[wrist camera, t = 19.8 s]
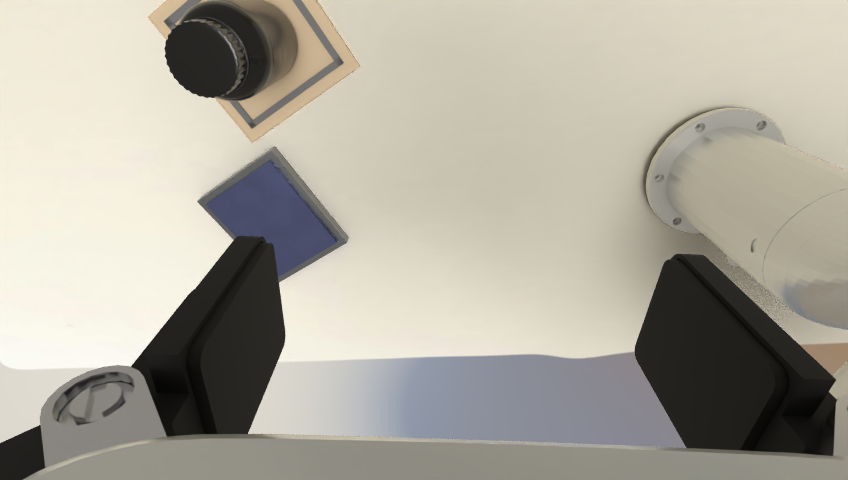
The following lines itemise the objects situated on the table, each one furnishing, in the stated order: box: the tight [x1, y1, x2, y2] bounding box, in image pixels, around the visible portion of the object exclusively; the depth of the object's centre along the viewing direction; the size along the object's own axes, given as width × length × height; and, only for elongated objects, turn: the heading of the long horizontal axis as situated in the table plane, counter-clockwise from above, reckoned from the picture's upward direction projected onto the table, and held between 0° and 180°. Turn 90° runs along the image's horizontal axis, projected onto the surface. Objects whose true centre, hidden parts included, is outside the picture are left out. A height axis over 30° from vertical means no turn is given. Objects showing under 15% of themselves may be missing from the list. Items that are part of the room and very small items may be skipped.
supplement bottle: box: [165, 0, 298, 101], centre depth 34 cm, size 7×7×12 cm
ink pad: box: [197, 147, 349, 282], centre depth 47 cm, size 12×10×2 cm
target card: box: [148, 0, 360, 142], centre depth 40 cm, size 13×13×1 cm
